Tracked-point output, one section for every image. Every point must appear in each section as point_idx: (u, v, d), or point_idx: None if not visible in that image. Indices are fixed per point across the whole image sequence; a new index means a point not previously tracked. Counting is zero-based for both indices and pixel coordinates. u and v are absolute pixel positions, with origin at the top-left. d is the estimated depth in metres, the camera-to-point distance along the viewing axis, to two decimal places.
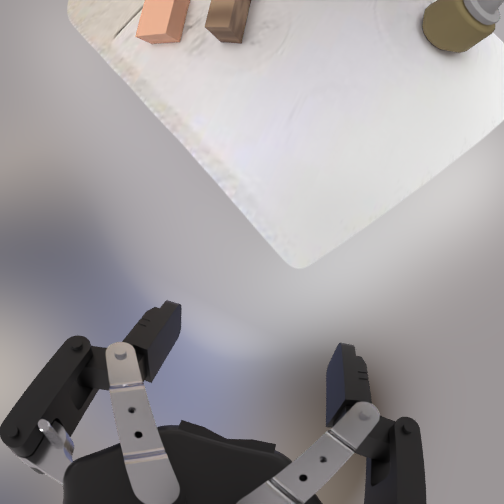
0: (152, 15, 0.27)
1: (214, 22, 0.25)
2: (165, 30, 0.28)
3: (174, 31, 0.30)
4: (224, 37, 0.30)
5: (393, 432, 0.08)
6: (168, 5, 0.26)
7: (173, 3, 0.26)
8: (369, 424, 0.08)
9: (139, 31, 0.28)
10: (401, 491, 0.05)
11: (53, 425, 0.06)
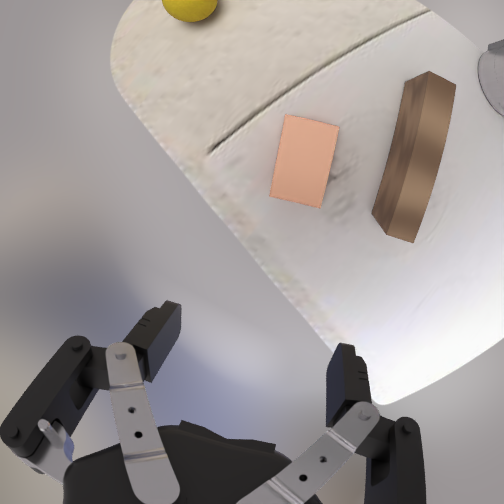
0: (298, 167, 0.25)
1: (399, 231, 0.24)
2: (320, 203, 0.26)
3: None
4: None
5: (393, 432, 0.08)
6: (325, 158, 0.25)
7: (332, 155, 0.24)
8: (369, 424, 0.08)
9: (276, 189, 0.27)
10: (401, 491, 0.05)
11: (53, 425, 0.06)
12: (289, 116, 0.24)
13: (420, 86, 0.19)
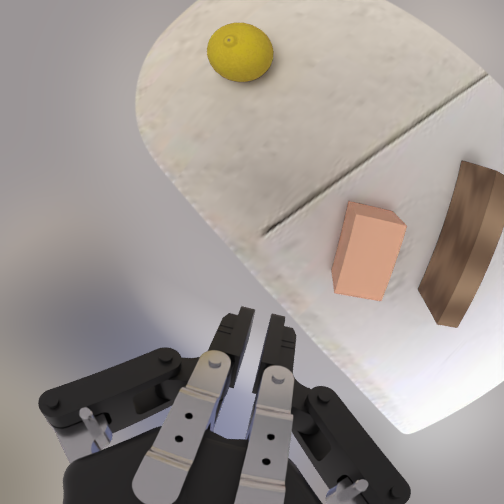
0: (365, 266, 0.25)
1: (447, 320, 0.23)
2: (381, 296, 0.26)
3: None
4: None
5: (311, 407, 0.09)
6: (390, 257, 0.24)
7: (397, 253, 0.24)
8: (280, 387, 0.10)
9: (341, 286, 0.26)
10: (355, 459, 0.07)
11: (99, 417, 0.07)
12: (360, 216, 0.23)
13: (483, 181, 0.19)
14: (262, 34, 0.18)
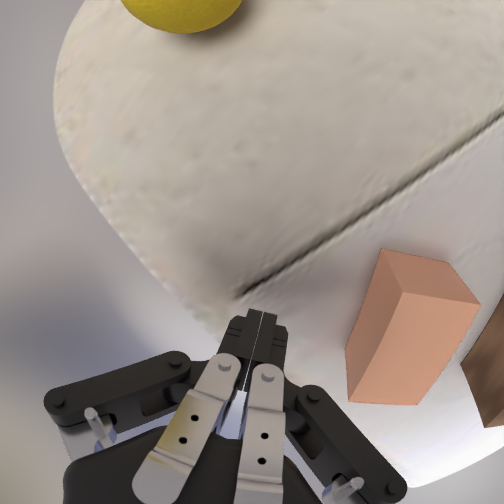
0: (403, 368, 0.13)
1: (498, 421, 0.11)
2: (418, 400, 0.14)
3: None
4: None
5: (301, 406, 0.09)
6: (446, 352, 0.12)
7: (456, 344, 0.12)
8: (269, 385, 0.10)
9: (360, 394, 0.14)
10: (349, 457, 0.07)
11: (104, 417, 0.08)
12: (409, 295, 0.11)
13: None
14: None
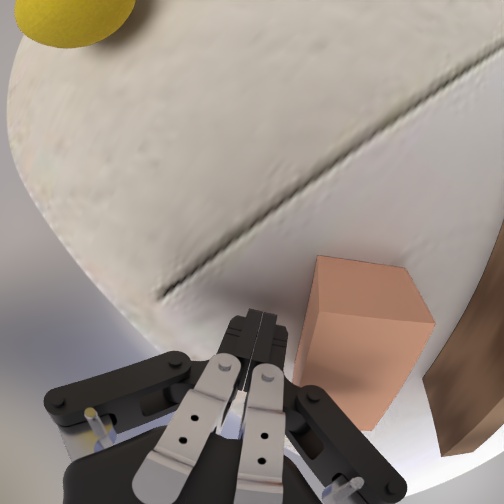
0: (342, 394, 0.12)
1: (460, 449, 0.10)
2: (372, 426, 0.13)
3: None
4: None
5: (301, 406, 0.09)
6: (395, 377, 0.11)
7: (409, 368, 0.11)
8: (269, 385, 0.10)
9: None
10: (349, 457, 0.07)
11: (104, 417, 0.08)
12: (329, 315, 0.10)
13: None
14: None
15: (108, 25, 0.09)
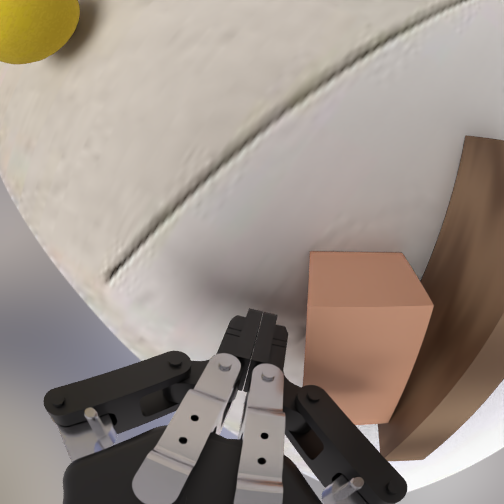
0: (348, 389, 0.11)
1: (403, 455, 0.10)
2: (387, 418, 0.12)
3: None
4: None
5: (301, 406, 0.09)
6: (401, 366, 0.10)
7: (415, 355, 0.10)
8: (269, 385, 0.10)
9: None
10: (349, 457, 0.07)
11: (104, 417, 0.08)
12: (318, 309, 0.10)
13: None
14: None
15: (52, 42, 0.09)
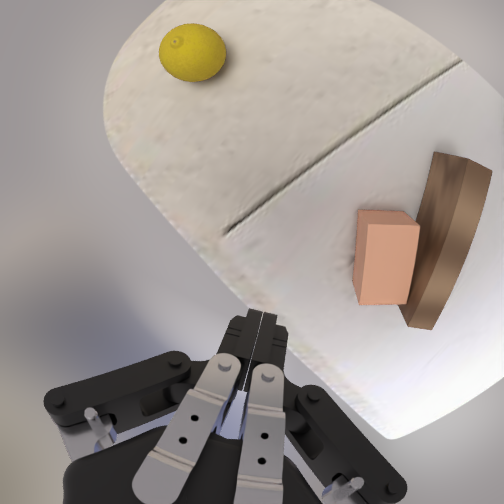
0: (385, 274, 0.24)
1: (419, 322, 0.23)
2: (405, 299, 0.25)
3: None
4: None
5: (301, 406, 0.09)
6: (409, 259, 0.23)
7: (415, 254, 0.23)
8: (269, 385, 0.10)
9: (365, 297, 0.25)
10: (349, 457, 0.07)
11: (104, 417, 0.08)
12: (372, 225, 0.23)
13: (455, 171, 0.19)
14: (211, 32, 0.18)
15: (213, 74, 0.21)
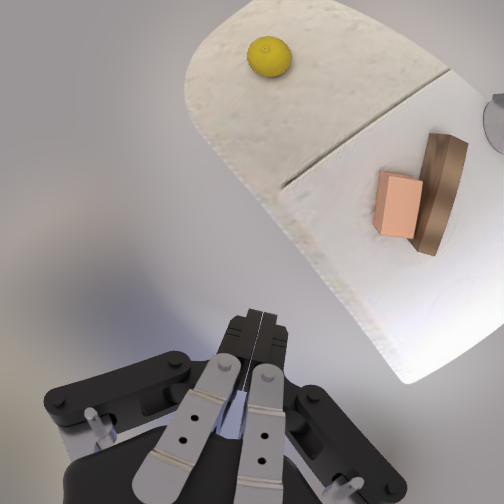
0: (399, 213, 0.34)
1: (425, 248, 0.33)
2: (412, 235, 0.34)
3: None
4: None
5: (301, 406, 0.09)
6: (415, 204, 0.33)
7: (419, 201, 0.33)
8: (269, 385, 0.10)
9: (384, 229, 0.35)
10: (349, 457, 0.07)
11: (104, 417, 0.08)
12: (391, 177, 0.32)
13: (442, 144, 0.28)
14: (285, 45, 0.27)
15: None
